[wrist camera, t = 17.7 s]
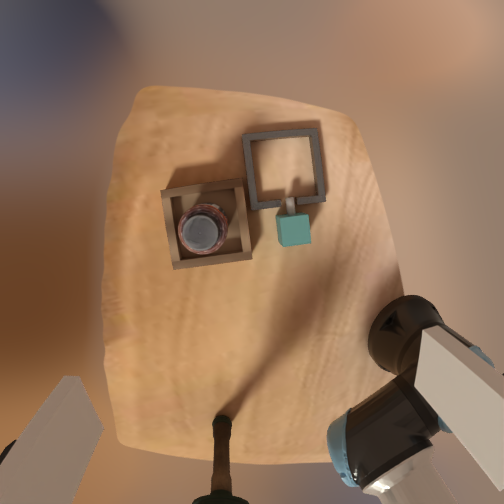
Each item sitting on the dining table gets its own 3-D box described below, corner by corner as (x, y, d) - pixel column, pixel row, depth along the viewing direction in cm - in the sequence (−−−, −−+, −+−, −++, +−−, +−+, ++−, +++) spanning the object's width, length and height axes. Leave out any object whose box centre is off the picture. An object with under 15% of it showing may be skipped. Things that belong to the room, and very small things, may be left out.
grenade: (235, 400, 52) (241, 542, 23) (250, 429, 54) (263, 559, 25) (193, 410, 52) (176, 546, 23) (210, 438, 54) (205, 564, 25)
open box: (251, 254, 47) (252, 259, 44) (176, 264, 46) (173, 269, 43) (241, 178, 44) (242, 178, 41) (164, 190, 44) (160, 190, 41)
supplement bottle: (228, 243, 45) (227, 261, 34) (187, 242, 45) (173, 261, 34) (228, 201, 44) (227, 206, 33) (187, 201, 43) (172, 206, 32)
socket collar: (323, 201, 46) (325, 201, 44) (250, 209, 45) (251, 210, 44) (314, 129, 43) (316, 128, 42) (241, 136, 43) (241, 134, 41)
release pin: (304, 238, 46) (311, 243, 42) (278, 241, 46) (283, 247, 42) (300, 195, 45) (306, 196, 41) (273, 198, 45) (277, 199, 41)
